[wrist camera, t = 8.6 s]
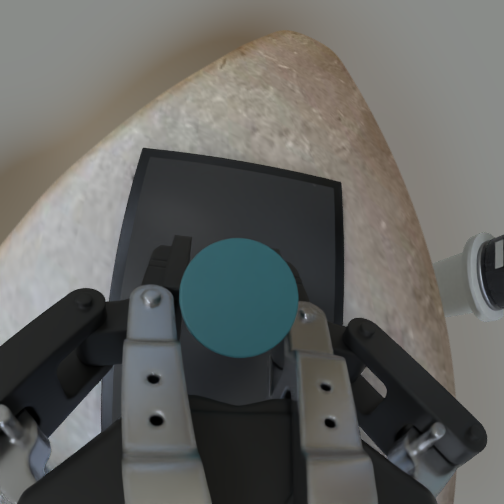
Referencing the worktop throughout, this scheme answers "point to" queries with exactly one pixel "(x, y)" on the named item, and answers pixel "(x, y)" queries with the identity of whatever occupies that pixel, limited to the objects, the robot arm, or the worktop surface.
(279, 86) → the worktop surface
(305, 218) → the tablet
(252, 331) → the teal capped white tube
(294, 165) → the worktop surface
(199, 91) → the worktop surface
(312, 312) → the robot arm
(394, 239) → the worktop surface
